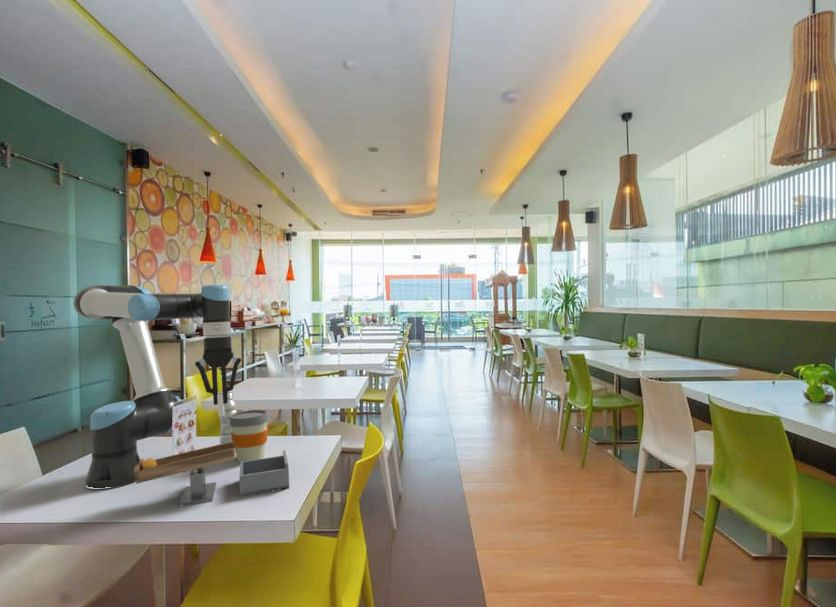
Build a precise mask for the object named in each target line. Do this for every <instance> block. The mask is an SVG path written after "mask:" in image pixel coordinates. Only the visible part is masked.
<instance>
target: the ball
mask: <svg viewBox="0 0 836 607" xmlns="http://www.w3.org/2000/svg"><path fill="white" fill-rule="evenodd" d="M144 460H145V461H144V462H143V463H142V466H141V468H142V470H143V469H147V468H152V467H156V466H157V462H156V461H155V460H156V459H154V458H147V459H144Z"/></svg>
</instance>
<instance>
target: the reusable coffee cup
mask: <svg viewBox="0 0 836 607" xmlns="http://www.w3.org/2000/svg"><path fill="white" fill-rule="evenodd" d="M268 421H269V416H268V411H267V410H261V409H255V410H254V409H253V410H243V411H239V412H237V413H235V414H233V415H231V416H230V426H231V429H232V432H231V436H232V441H234V444H235V450H236V452H235V458H236V461H237V462H240V461H242V462H243V461H249V460H256V459H260V458H261V459H263V458H264V457H265V452H266V443H267V441H268V431H269V428H268ZM263 456H264V457H263ZM262 457H263V458H262Z"/></svg>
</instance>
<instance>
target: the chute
mask: <svg viewBox="0 0 836 607" xmlns="http://www.w3.org/2000/svg"><path fill="white" fill-rule="evenodd" d="M140 459H141V460H140V461H139V463H138V464H137V465H136V466H135V468H134V473H135V479H136V481H135V483H136V485H137V484H141V483H144V482H148V481H153V480H156V479H160V478H165V477H169V476H173V475H177V474H180V473H185V472H188V471H189V472H191V471H192V470H193V474H197V473H198V470H199V468H202V467H205V468H206V467H209V466H214V465H216V464H217V465H218V464H222V463H225V462H226V463H227V462H229V461H234V460H235V459H236V450H235V444H234V441H232V442H227V443H223V444H221V443H219V444H215V445H211V446H208V447H203V448H198V449H195V450H191V451H186V452H182V453H177V454H174V455H169V456H165V457H160V458H157V459H156V458H155V459H154V460H155V461H156V462H157V466H156V467H152V468H147V469H143V470H142V468H141V466H142V463H143V462H144V461H145V460H146V459H145V458H140Z"/></svg>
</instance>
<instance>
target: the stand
mask: <svg viewBox="0 0 836 607" xmlns="http://www.w3.org/2000/svg"><path fill="white" fill-rule="evenodd" d="M216 487H217V482H216V481H215V482H214V481H213V482H208V483H206V467H202V468H199V470H198V473H197V474H193V470H190V473H189V486H185V488H184V489H183V492H182V494H181V498H180V501H179V503H178V505H179V506H180V507H182V506H181V505H186V506H189V505H188V504H191V505H195V504H194V503H197V504H201V503H200V502H203V503H207V502H206V501H209V502H213V500H214V495H215V490H216Z"/></svg>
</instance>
